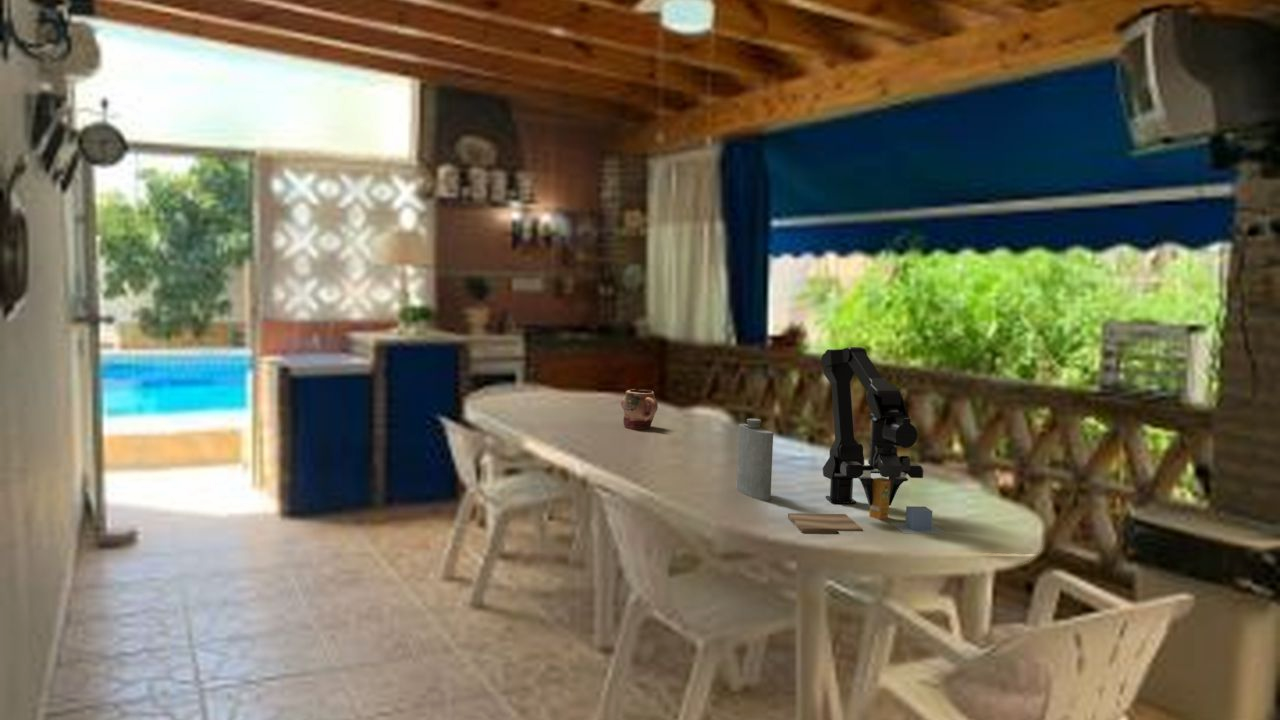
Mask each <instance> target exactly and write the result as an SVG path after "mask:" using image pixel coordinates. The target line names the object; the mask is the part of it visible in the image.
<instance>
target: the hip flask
mask: <svg viewBox="0 0 1280 720" xmlns="http://www.w3.org/2000/svg"><path fill="white" fill-rule="evenodd" d="M761 420H762V419H760V418H747V419H746V423H739V424H738V441H737V442H738V443H737V463H736V464H737V466H736V468H737V470H736V471H737V472H736V490H737V491H739V492H741V493H742V494H744V495H746V496H748V497H750V498H752V499H756V500H758V501H763V502H769V501H771V497H772V496H771V494H772V476H773V475H772V472H773V451H774V450H773V449H774V447H773V445H774V432H773V431H770V430H765V429H761V428H760V427H761V425H760V423H762V422H761Z"/></svg>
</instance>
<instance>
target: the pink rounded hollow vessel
mask: <svg viewBox="0 0 1280 720" xmlns="http://www.w3.org/2000/svg"><path fill="white" fill-rule="evenodd" d="M624 394H625V395H624V397H623V398H622V400H621V401H620V406H621V408H622V409H623V412H624V413H623V425H624V428H627V429H630V430H645V429H646V430H647V429H649V428H651V427H652V422H653V420H654V418H655V415H656V413H657V411H658V408H659V407H658V401H657V399H656V397H655V393H654V391H653V390H651V389H638V388H637V389H636V388H633V389H629V390H626V391H625V393H624Z"/></svg>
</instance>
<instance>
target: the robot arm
mask: <svg viewBox="0 0 1280 720" xmlns="http://www.w3.org/2000/svg"><path fill="white" fill-rule="evenodd" d="M820 360H821V365H822V369H823V375H824V376H825V378H826V380H827V381H828V382H829V383H830V386H831V387H830V389H831V398H832V399H831V401H832V415H833V416H832V417H833V429H834V441H833V443H832V445H831V446H830V448H829V458H828V459H827V461H826V462H825V464H824V465H823V467H822V476H823V477H825V478H827V479H829V480H830V483H829V484H830V485H829V486H830V487H829V495H825V499H826V500H828V501H829V502H830V503H831V504H857V500H856V499H854V498H853V489H854V479H858V480H859V481H860V483H861V485H862V488H863V490H864V493H865V497H866V499H867V503H868V505H869V506H870V505H872V483H873V478H874V477H872V476H871V475H872V474H879V475H880V477H884V478H888V479H890V480H891V487H890V499H889V507H890V506H891V505H892V503H893V501H894V498H895V497H896V495H897V491H899V488H900V486H901V485H902V484H903V483H904V482H908V481H909V478H911V479H923V478H924V468H923V466H922V465H920V464H918V463H916V462H915V461H914V462H912V461H911V458H910V456H909V455H900V456H898V448H897V447H900V448H903V449H908V448H911V447H913V446H914V445H915V443H916V442H917V439H918V433H919V432H918V431H917V429H916V427H915V425H913V424H912V423H911V418H910V416H909V409H908V407H907V405H906V403H905V399H904V397H903V394H902V393H901V391H900V389H899V388H898V387H897V386H895V385H894V384H893V383H891V382H889V381H887V380H885V379H884V378H883V376H882V375H881V374H880V372H879V371H878V369H877V368H876V366H875V365H874V363H873V362H872V360H871V359H870V358H869V356H868V355H867V350H866V349H865V348H864V347H861V346H848V347H845V348H842V349H840V348H839V349H837V348H836V349H832V348H831V349H826V350H825V352H824V353H823V354H822V355H821V359H820ZM854 375H855V376H856V377H857V379H858V381H859V382H860V383H861V384H860V385H862V387H863V388H864V390H865V392H866V396H865V401H866V403H867V406H868V407H869V409H870V411H871V414H869V415H868V417H867V418H868V419H869V420H871V435H870V442H868V443H869V446H868V447H869V448H870V452H869V459H868V464H869V465H867V464H866V465H865V457H864V446H863V445H862V444H861V443H858V441H857V439H855V430H854V429H855V428H854V427H855V426H854V416H853V399H852V389H851V382H852V380H853V378H854ZM907 476H908V477H909V478H908V477H907Z"/></svg>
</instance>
